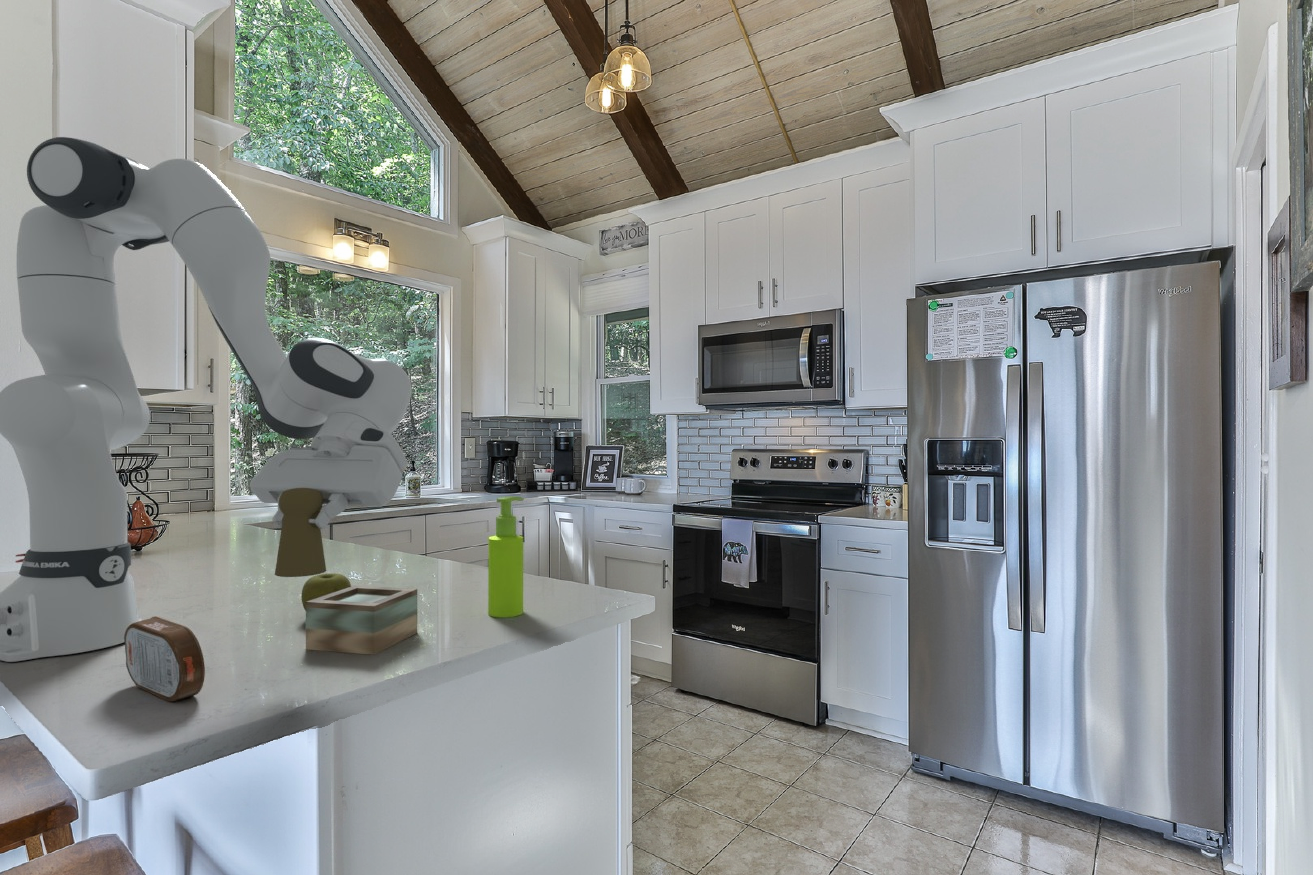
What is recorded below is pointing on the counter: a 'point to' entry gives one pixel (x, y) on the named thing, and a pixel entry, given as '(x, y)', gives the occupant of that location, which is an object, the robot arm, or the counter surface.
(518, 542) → the soap dispenser
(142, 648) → the tin
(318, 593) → the apple
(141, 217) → the robot arm
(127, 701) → the counter surface
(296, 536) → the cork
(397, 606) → the brown wooden square box
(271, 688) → the counter surface
